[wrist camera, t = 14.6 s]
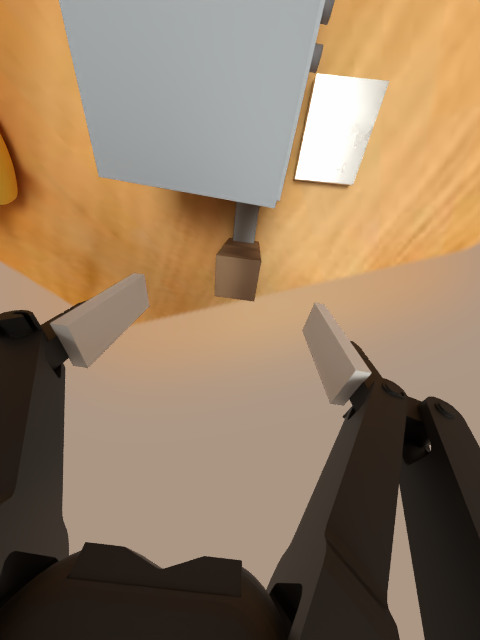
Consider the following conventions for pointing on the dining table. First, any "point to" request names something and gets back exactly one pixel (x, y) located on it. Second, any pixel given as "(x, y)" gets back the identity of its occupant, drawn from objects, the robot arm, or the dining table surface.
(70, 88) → the dining table surface
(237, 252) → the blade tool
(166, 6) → the low cabinet
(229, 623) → the robot arm
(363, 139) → the plate
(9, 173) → the teapot
